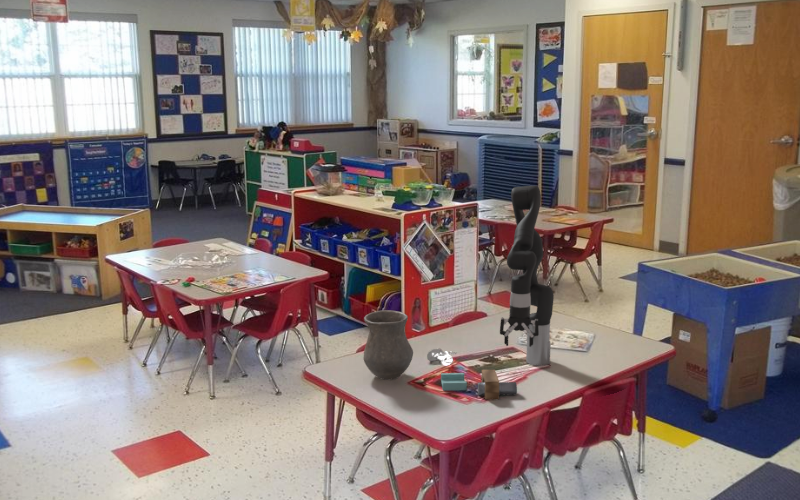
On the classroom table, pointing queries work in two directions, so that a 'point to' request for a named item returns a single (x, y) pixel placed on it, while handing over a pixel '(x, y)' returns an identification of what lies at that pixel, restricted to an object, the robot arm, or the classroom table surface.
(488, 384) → the brown notched block
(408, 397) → the classroom table surface
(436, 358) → the figurine
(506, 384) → the axle
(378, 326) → the vase
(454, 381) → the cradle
